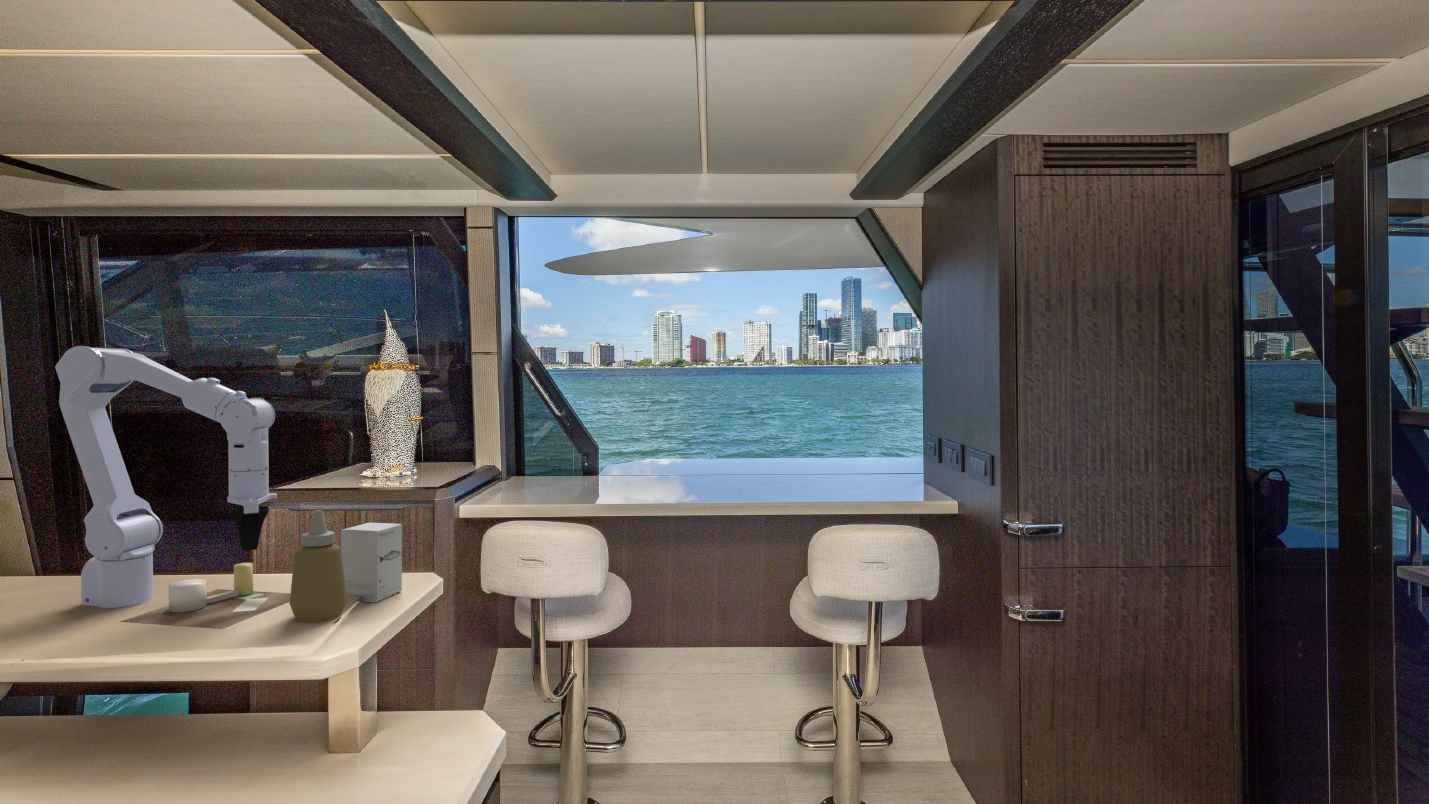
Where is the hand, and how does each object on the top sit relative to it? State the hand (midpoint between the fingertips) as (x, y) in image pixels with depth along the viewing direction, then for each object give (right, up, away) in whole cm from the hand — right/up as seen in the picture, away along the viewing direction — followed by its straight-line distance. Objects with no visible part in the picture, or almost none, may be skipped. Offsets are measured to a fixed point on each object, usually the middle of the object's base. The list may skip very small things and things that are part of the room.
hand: (249, 549), depth 124 cm
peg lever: (-5, -8, -1) cm, 10 cm away
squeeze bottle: (+16, -10, -8) cm, 21 cm away
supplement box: (+17, -10, +7) cm, 21 cm away
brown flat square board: (-3, -10, -4) cm, 11 cm away
